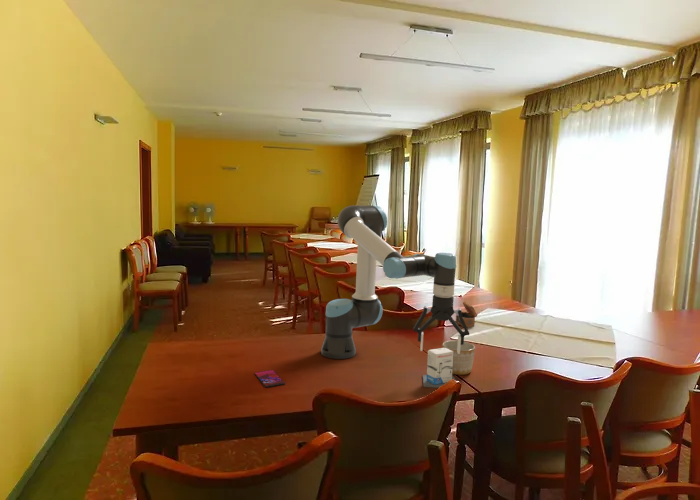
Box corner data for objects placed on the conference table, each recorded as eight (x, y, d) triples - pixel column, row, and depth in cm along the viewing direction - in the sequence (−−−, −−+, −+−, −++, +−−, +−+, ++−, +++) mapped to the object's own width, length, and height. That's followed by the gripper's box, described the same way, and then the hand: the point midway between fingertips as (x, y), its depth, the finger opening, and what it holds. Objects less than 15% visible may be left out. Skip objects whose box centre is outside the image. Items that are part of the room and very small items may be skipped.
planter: (439, 364, 192) (440, 339, 191) (469, 365, 192) (471, 340, 191) (444, 375, 180) (445, 349, 179) (477, 377, 179) (478, 350, 178)
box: (433, 318, 269) (433, 298, 268) (479, 317, 272) (480, 298, 271) (448, 331, 242) (449, 309, 240) (499, 331, 245) (501, 309, 243)
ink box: (434, 385, 169) (435, 354, 168) (426, 380, 173) (427, 350, 172) (452, 381, 173) (454, 350, 172) (444, 376, 177) (445, 347, 176)
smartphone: (273, 369, 181) (286, 383, 168) (273, 371, 181) (286, 385, 168) (253, 372, 178) (265, 386, 165) (253, 375, 178) (265, 389, 165)
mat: (423, 386, 169) (423, 385, 169) (422, 376, 179) (422, 374, 179) (457, 389, 167) (457, 387, 167) (454, 378, 177) (454, 377, 177)
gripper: (408, 295, 167) (405, 352, 170) (479, 300, 164) (475, 357, 167) (409, 291, 175) (406, 345, 177) (476, 295, 172) (472, 350, 174)
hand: (439, 351), depth 172 cm, fingers open, 13 cm apart
